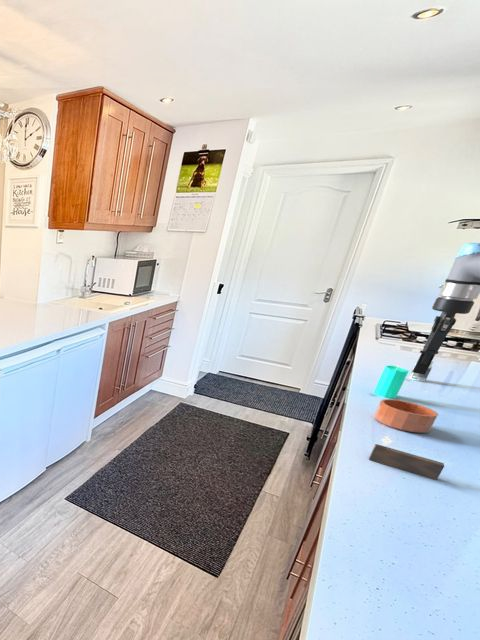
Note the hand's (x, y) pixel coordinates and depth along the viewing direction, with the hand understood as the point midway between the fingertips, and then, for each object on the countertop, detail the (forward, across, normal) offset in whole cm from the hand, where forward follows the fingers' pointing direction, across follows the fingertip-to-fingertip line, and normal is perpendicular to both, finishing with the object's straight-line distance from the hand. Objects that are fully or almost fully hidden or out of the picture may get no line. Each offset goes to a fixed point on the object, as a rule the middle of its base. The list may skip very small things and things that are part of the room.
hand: (418, 373), depth 127 cm
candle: (+15, -19, -4) cm, 24 cm away
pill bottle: (+15, -55, +6) cm, 57 cm away
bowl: (+14, +12, 0) cm, 19 cm away
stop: (+14, +48, 0) cm, 50 cm away
